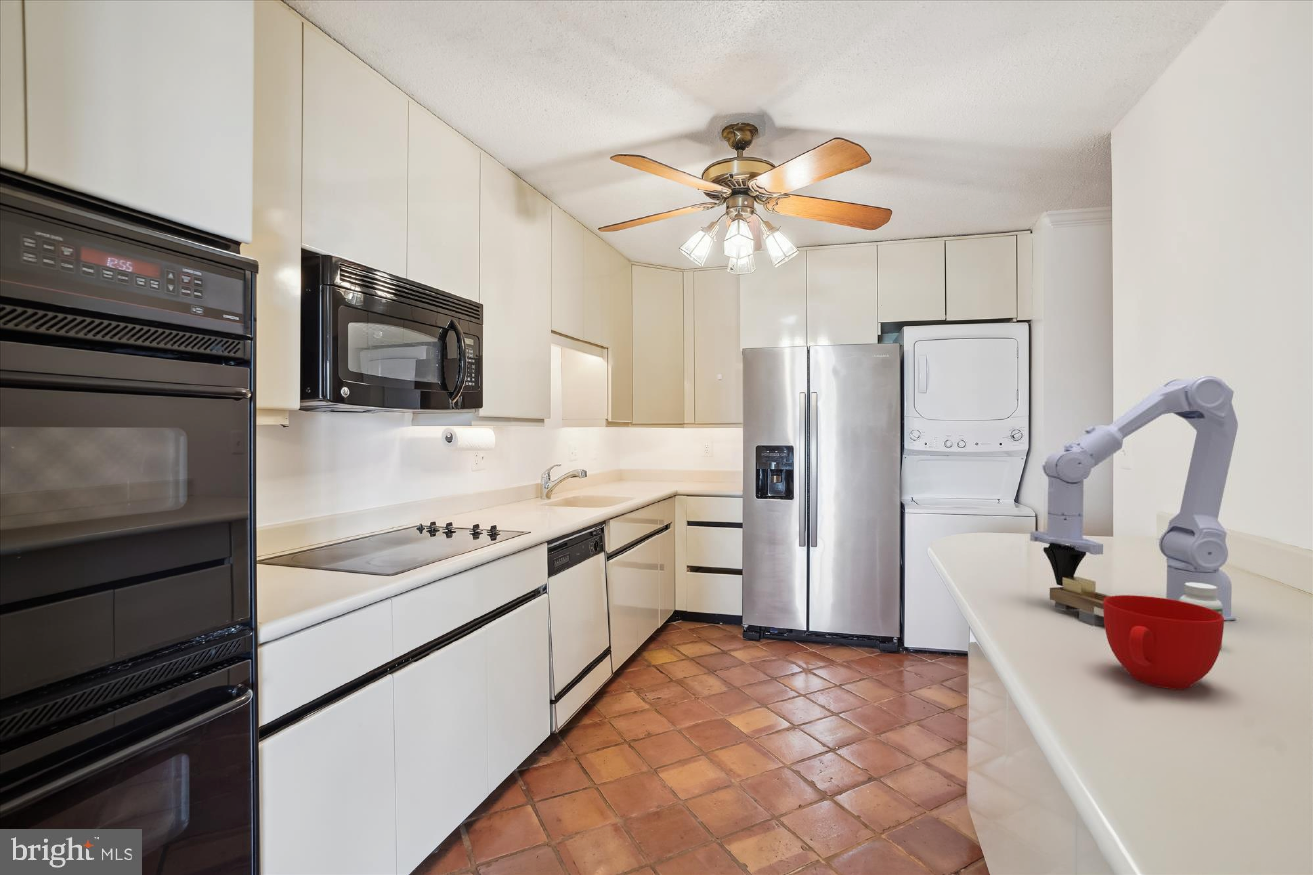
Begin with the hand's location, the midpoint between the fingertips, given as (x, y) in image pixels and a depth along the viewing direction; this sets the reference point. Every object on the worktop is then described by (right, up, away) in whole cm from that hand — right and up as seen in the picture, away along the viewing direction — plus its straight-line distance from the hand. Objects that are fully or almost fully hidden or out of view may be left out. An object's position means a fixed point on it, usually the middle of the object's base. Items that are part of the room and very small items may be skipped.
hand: (1063, 585), depth 121 cm
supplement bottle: (+9, -5, -20) cm, 22 cm away
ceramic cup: (-10, -5, -35) cm, 37 cm away
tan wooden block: (+1, -1, -3) cm, 4 cm away
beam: (+2, -5, -8) cm, 9 cm away
